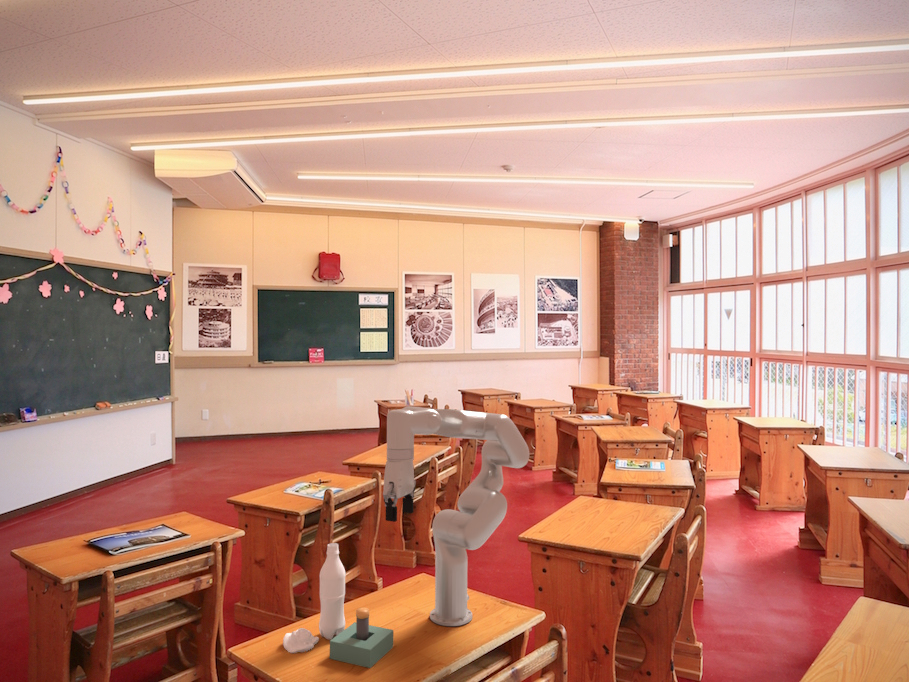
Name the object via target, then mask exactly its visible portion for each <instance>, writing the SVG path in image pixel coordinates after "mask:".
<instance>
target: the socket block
mask: <svg viewBox="0 0 909 682" xmlns="http://www.w3.org/2000/svg"><path fill="white" fill-rule="evenodd" d="M393 648H394V629H391V628H390V629H389V628H385V627H382V626H381V627H379V626H375V625H370V624H369V638H368V639H367V640H366V641H363V640H359V639H356V621H355V622H353V623H352V624H350V625H349V626H348V627H345V629H344V631H342V632H341V633H340V634H338V635H337V636H336V635H335V636H333V638H332V639H329V659H330V660H334V661H339V662H343V663H347V664H351V665H356V666H360V667H363V668H364V667H365V668H368V669H371V668H372V667H373V666H375V664H377V663H378V662H379V661H380V660H381V659H382V658H383V657H384V656H385V655H386V654H387V653H389V652H390V651H391V650H392V649H393Z"/></svg>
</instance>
